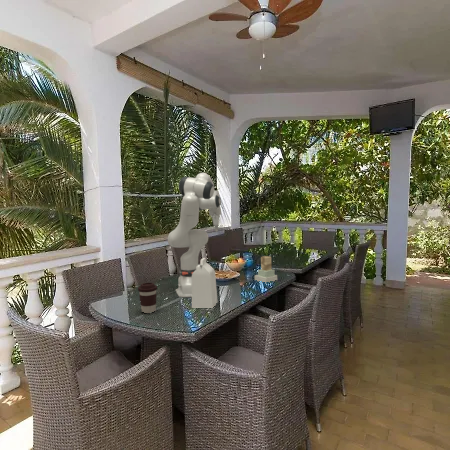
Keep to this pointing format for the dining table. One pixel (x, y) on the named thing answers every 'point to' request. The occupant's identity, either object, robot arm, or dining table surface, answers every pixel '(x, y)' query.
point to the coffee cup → (147, 297)
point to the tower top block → (266, 273)
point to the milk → (204, 286)
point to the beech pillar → (266, 263)
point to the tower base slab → (265, 278)
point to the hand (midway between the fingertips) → (216, 231)
